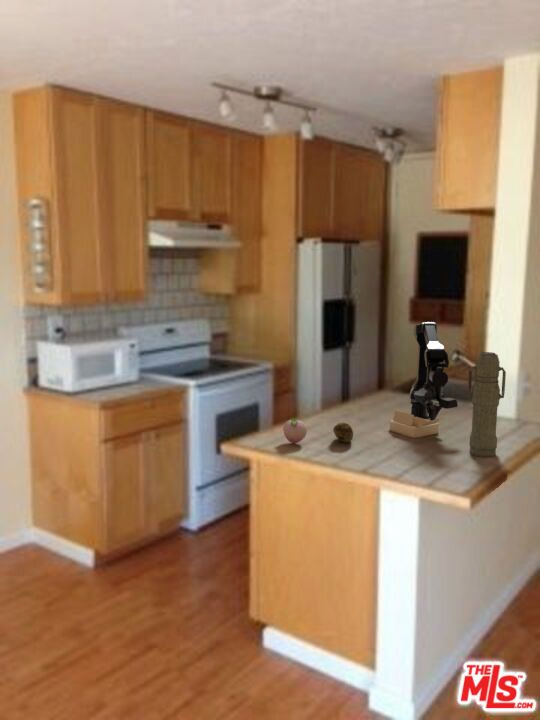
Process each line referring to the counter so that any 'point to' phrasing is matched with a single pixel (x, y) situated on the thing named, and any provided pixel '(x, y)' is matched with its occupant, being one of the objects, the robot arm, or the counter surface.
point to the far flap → (403, 417)
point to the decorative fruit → (294, 430)
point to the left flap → (430, 422)
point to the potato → (343, 432)
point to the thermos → (485, 404)
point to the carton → (414, 428)
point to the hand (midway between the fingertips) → (432, 421)
